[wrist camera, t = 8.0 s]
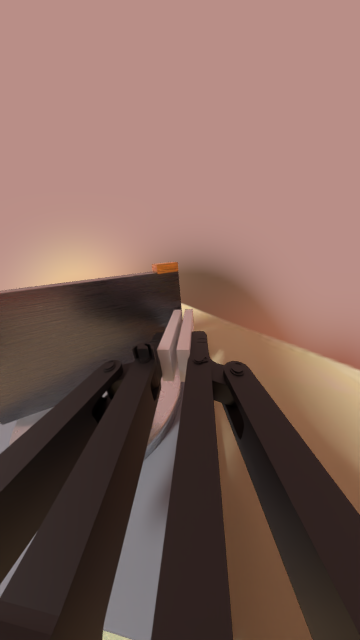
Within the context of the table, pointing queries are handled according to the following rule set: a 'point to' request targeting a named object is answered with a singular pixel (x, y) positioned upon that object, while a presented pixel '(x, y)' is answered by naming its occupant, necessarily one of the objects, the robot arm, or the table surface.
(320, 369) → the table surface
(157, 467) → the base
